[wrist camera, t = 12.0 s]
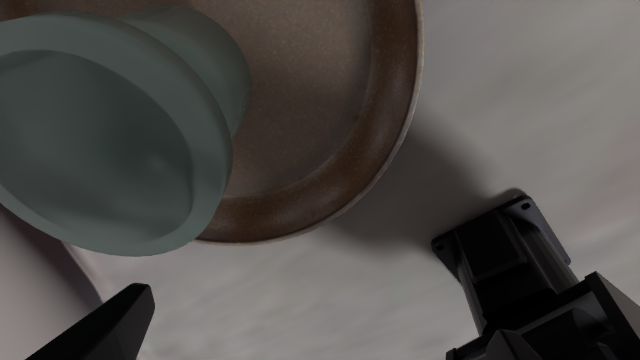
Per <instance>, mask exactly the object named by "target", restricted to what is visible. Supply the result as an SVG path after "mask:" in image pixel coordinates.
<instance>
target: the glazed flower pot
mask: <svg viewBox="0 0 640 360" xmlns="http://www.w3.org/2000/svg"><path fill="white" fill-rule="evenodd" d="M251 97H252V80H251V74H250V70H249V66H248V64H247V61H246V59H245V56H244V55H243V53H242V51H241V49H240V47H239V46H238V44H237V43H236V42H235V40H234V39H233V38H232V37H231V35H230V34H229V33H228V32H227V31H226V30H225V29H224V28H223V27H222V26H221V25H219V24H218V23H217V22H216V21H214V20H213V19H211V18H210V17H208V16H206V15H205V14H203V13H201V12H199V11H196V10H194V9H192V8H188V7H185V6H181V5H173V4H159V5H154V6H149V7H146V8H143V9H140V10H137V11H134V12H131V13H128V14H125V15H122V16H119V17H116V18H112V17H109V16H105V15H101V14H97V13H93V12H86V11H78V10H54V11H49V12H43V13H38V14H34V15H29V16H25V17H21V18H16V19H12V20H8V21H3V22H0V203H2V204H3V205H4V206H5V207H6V208H8V209H9V210H10V211H12V212H13V213H14V214H16V215H17V216H18V217H20V218H21V219H23V220H24V221H26V222H28V223H29V224H31V225H32V226H34V227H36V228H37V229H39V230H41V231H43V232H45V233H47V234H49V235H51V236H53V237H55V238H57V239H60V240H62V241H64V242H66V243H69V244H72V245H75V246H77V247H80V248H84V249H87V250H91V251H94V252H99V253H104V254H109V255H117V256H134V257H139V256H152V255H157V254H162V253H166V252H169V251H172V250H175V249H178V248H180V247H182V246H184V245H186V244H187V243H189V242H190V241H192V240H193V239H195V238H196V237H197V236H198V235H199V234H200V233H201V232H202V231H204V229H205V228H206V227H207V225H208V224H209V222H210V221H211V219H212V217H213V215H214V213H215V211H216V209H217V207H218V205H219V202H220V200H221V198H222V196H223V194H224V192H225V190H226V188H227V185H228V183H229V180H230V176H231V173H232V165H233V146H232V139H233V137H234V135H235V134H236V132H237V130H238V128H239V126H240V125H241V123H242V121H243V119H244V117H245V116H246V113H247V111H248V109H249V106H250V102H251Z"/></svg>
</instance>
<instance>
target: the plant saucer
mask: <svg viewBox="0 0 640 360" xmlns="http://www.w3.org/2000/svg"><path fill="white" fill-rule="evenodd" d="M159 4H173V5H181V6H185V7H188V8H192V9H194V10H196V11H199V12H201V13H203V14H205V15H206V16H208V17H210V18H211V19H213V20H214V21H216V22H217V23H218V24H219V25H221V26H222V27H223V28H224V29H225V30H226V31H227V32H228V33H229V34H230V35H231V37H232V38H233V39H234V40H235V42H236V43H237V44H238V46H239V47H240V49H241V51H242V53H243V55H244V56H245V59H246V61H247V64H248V66H249V70H250V74H251V80H252V97H251V102H250V106H249V109H248V111H247V113H246V116H245V117H244V119H243V121H242V123H241V125H240V126H239V128H238V130H237V132H236V134H235V135H234V137H233V139H232V146H233V165H232V173H231V176H230V180H229V183H228V185H227V188H226V190H225V192H224V194H223V196H222V198H221V200H220V202H219V205H218V207H217V209H216V211H215V213H214V215H213V217H212V219H211V221H210V222H209V224H208V225H207V227H206V228H205V229H204V231H202V232H201V233H200V234H199V235H198V236H197V237H196V238H195V239H193V240H192V241H190V242H195V243H200V244H207V245H216V246H254V245H261V244H268V243H274V242H278V241H282V240H286V239H290V238H294V237H297V236H299V235H302V234H305V233H307V232H310V231H312V230H314V229H317V228H319V227H321V226H323V225H325V224H326V223H328V222H330V221H331V220H333V219H335V218H337V217H338V216H340V215H341V214H343V213H344V212H346V211H347V210H348V209H349V208H351V207H352V206H353V205H354V204H355V203H357V202H358V201H359V200H360V199H361V198H362V197H363V196H364V195H365V194H366V193H367V192H368V191H369V190H370V189H371V188H372V187H373V186H374V185H375V184H376V182H377V181H378V180H379V179H380V178H381V176H382V175H383V173H384V172H385V171H386V169H387V168H388V167H389V165H390V164H391V162H392V160H393V159H394V157H395V155H396V153H397V151H398V150H399V148H400V146H401V144H402V142H403V140H404V138H405V136H406V133H407V131H408V128H409V126H410V123H411V120H412V118H413V115H414V111H415V108H416V104H417V100H418V95H419V91H420V86H421V78H422V71H423V60H424V48H425V46H424V21H423V10H422V2H421V0H0V22H3V21H8V20H12V19H16V18H21V17H25V16H29V15H34V14H38V13H43V12H49V11H54V10H78V11H86V12H93V13H97V14H101V15H105V16H109V17H112V18H116V17H119V16H122V15H125V14H128V13H131V12H134V11H137V10H140V9H143V8H146V7H149V6H154V5H159Z"/></svg>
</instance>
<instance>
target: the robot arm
mask: <svg viewBox="0 0 640 360" xmlns="http://www.w3.org/2000/svg"><path fill="white" fill-rule="evenodd" d="M524 203H527V204H526V205H524V206H521V205H522V204H524ZM437 245H441V246H437ZM431 247H432V250H433V252H434V253H435V254H436V255H437V256H438V257H439V259H440V260H441V261H442V262H443V263H444V264H445V266H446V267H447V268H448V269H449V270H450V271H451V272H452V274H453V275H454V276H455V277H456V278H457V279H458V281H459V282H460V283H461V284H462V286H463V289H464V292H465V295H466V298H467V301H468V304H469V307H470V310H471V313H472V316H473V319H474V322H475V325H476V328H477V331H478V334H479V337H478V338H476V339H474V340H472V341H470V342H468V343H467V344H465V345H463V346H461V347H459V348H457V349H456V348H453V349H452V350H450V351H448V352H446V360H640V306H638V305H637V304H636V303H635V302H633V301H632V300H631V299H630V298H629V297H627V296H626V295H625V294H624V293H622V292H621V291H620V290H619V289H618V288H616V287H615V286H614V285H613V284H611V283H610V282H609V281H608V280H607V279H605V278H604V277H603V276H602V275H600V274H599V273H598V272H597V271H595V272H593V273H591V274H589V275H587V276H585V280H583V281H581V282H579V280H578V279H577V278H576V276H575V275H574V273H573V272H572V270H571V269H570V268H569V266H568V265H569V264H570V263H571V260H570V258H569V256H568V255H567V253H566V252H565V250H564V248H563V247H562V245H561V244H560V242H559V240H558V239H557V237H556V236H555V234H554V233H553V231H552V229H551V228H550V226H549V225H548V223H547V221H546V220H545V218H544V217H543V215H542V214H541V212H540V210H539V209H538V207H537V206H536V204H535V202H534V201H533V200H532V198H531V197H529V196H527V195H523V196H520V197H518V198H516V199H514V200H512V201H509V202H507V203H505V204H503V205H501V206H499V207H497V208H495V209H493V210H491V211H489V212H487V213H485V214H483V215H481V216H479V217H477V218H475V219H473V220H471V221H469V222H467V223H465V224H463V225H461V226H459V227H457V228H455V229H453V230H451V231H449V232H447V233H445V234H443V235H441V236H439V237H437V238H435V239H433V240H432V242H431ZM154 310H155V303H154V299H153V295H152V291H151V287H150V286H149V285H148V284H142V283H132V284H130V285H129V286H127V287H126V288H124V289H123V290H122V291H120V292H119V293H117V294H116V295H115V296H113V297H112V298H110V299H109V300H108V301H106V302H105V303H103V304H102V305H101V306H100V307H98V308H97V309H95V310H94V311H92V312H91V313H89V314H88V315H87V316H85V317H84V318H82V319H81V320H80V321H79V322H77V323H76V324H74V325H73V326H71V327H70V328H69V329H67V330H66V331H64V332H63V333H62V334H60V335H59V336H57V337H56V338H55V339H53V340H52V341H50V342H49V343H48V344H46V345H45V346H43V347H42V348H41V349H39V350H38V351H36V352H35V353H34V354H32V355H31V356H30V357H28V358H27V359H25V360H136V357H137V355H138V352H139V350H140V347H141V345H142V342H143V340H144V337H145V334H146V332H147V329H148V327H149V324H150V322H151V319H152V316H153V314H154Z"/></svg>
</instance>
